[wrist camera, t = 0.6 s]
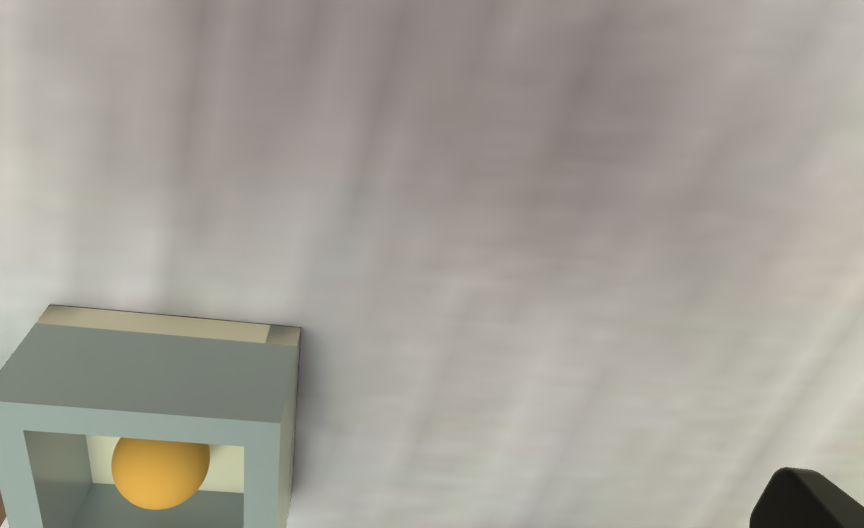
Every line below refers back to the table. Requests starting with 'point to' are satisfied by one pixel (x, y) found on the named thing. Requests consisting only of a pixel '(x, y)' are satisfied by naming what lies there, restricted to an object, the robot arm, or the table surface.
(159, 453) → the clementine
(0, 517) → the walnut lid
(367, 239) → the table surface
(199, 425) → the grey square box
